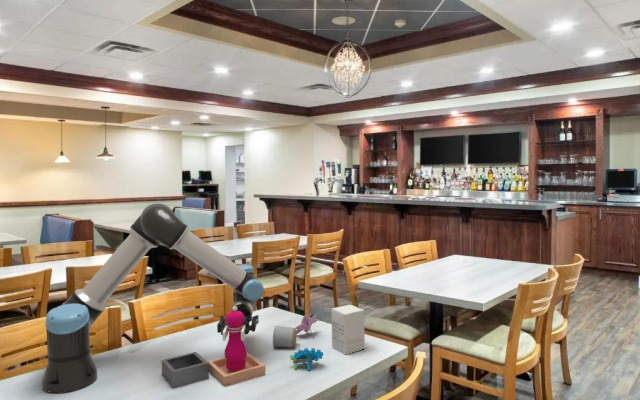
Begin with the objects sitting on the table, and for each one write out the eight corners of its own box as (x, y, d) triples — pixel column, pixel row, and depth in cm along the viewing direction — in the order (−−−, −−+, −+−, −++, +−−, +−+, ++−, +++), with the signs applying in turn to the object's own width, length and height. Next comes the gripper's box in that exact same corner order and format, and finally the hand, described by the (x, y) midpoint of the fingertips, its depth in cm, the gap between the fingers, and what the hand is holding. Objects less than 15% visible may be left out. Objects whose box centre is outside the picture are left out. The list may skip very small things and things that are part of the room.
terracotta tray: (224, 386, 138) (224, 376, 138) (207, 370, 149) (207, 361, 149) (265, 374, 146) (265, 365, 146) (246, 360, 157) (246, 351, 157)
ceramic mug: (294, 350, 166) (294, 329, 165) (272, 350, 166) (272, 329, 166) (298, 340, 176) (298, 321, 176) (277, 340, 177) (277, 320, 177)
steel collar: (172, 388, 137) (172, 372, 137) (162, 375, 146) (161, 359, 146) (208, 378, 144) (208, 362, 143) (196, 366, 153) (195, 351, 153)
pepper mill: (251, 365, 149) (250, 305, 148) (236, 373, 143) (235, 310, 141) (235, 360, 153) (234, 302, 151) (220, 368, 146) (218, 307, 145)
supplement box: (350, 342, 173) (350, 303, 172) (365, 349, 165) (365, 309, 165) (331, 347, 168) (330, 307, 167) (345, 355, 161) (344, 314, 160)
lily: (323, 334, 186) (313, 312, 188) (329, 331, 175) (319, 308, 177) (297, 346, 182) (287, 324, 184) (301, 345, 171) (291, 321, 174)
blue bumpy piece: (325, 356, 156) (320, 344, 148) (326, 373, 152) (321, 362, 144) (293, 360, 156) (287, 348, 149) (293, 377, 152) (287, 366, 145)
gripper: (266, 323, 165) (262, 347, 142) (216, 324, 164) (204, 349, 141) (266, 302, 165) (261, 323, 142) (216, 304, 164) (203, 325, 141)
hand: (233, 336), depth 142 cm, fingers closed on pepper mill, 5 cm apart
